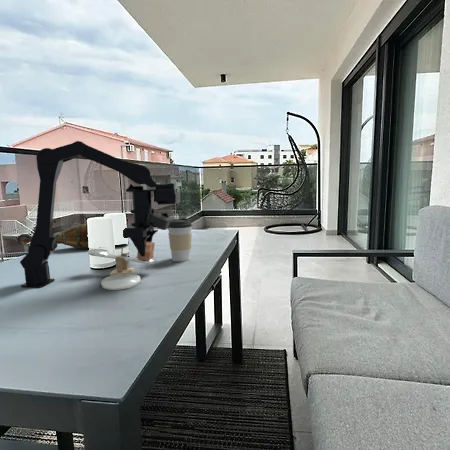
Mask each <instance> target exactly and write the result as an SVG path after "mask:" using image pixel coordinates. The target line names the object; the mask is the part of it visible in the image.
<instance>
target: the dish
mask: <svg viewBox="0 0 450 450" xmlns="http://www.w3.org/2000/svg"><path fill="white" fill-rule="evenodd" d="M141 281H142V280H141V276H140V275H138V274H135V273H131V274H118V275H113V276H110V275H109V276H106V277H105V278H102V280H101V281H100V282H101V288H103V289H104V290H109V291H119V290H126V289H131V288H134V287H136V286H138V285H139V284H141Z"/></svg>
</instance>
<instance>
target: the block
mask: <svg viewBox="0 0 450 450" xmlns="http://www.w3.org/2000/svg"><path fill="white" fill-rule="evenodd" d="M155 244H156V243H155V242H154V241H152V242H149V241H146V247H145V256H141V255H140V254H139V252H138V251H137V253H136V254H137V256H136V257H137V259H143V260H151V259H152V258H153V257H154V255H155V253H154V252H155ZM154 258H155V257H154Z"/></svg>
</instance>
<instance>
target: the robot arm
mask: <svg viewBox="0 0 450 450" xmlns="http://www.w3.org/2000/svg"><path fill="white" fill-rule="evenodd" d="M35 157H36V159H35V160H36V168H37V172H38V176H39V188H38V189H39V190H38V201H37V212H36V223H35V228H34V231H33V234H32V239H31V242H29V245H28V250H27V254H26V255H25V256H24V257H23V258H22V259H21V260H20V261H19V263H20V265H21V267H22V268H23V270H24V278H25V283H23V284H21V285H20V286H21V287H22V288H43V287H45V286H47V285H49V284H51V283H53V282H54V281H55V278H51V274H50V266H49V261H48V260H49V258H50V256H51V255H52V254H53V253H54V251H55V250H56V249H57V248H58V247H59V246H58V243H57V238H58V234H53V233H54V231H53V222H54V211H55V210H54V209H55V199H56V190H57V182H58V180H59V179H58V178H59V176H60V174H61V171H62V168H63V165H64V163H66V162H69V161H71V160H73V159H76V158H78V157H83V158H85V159H88V160H89V161H92V162H95V163H97V164H99V165H102V166H104V167H106V168H110V169H111V170H113V171H116V172H118V173H120V174H121V175H123V177H126V178H127V179H129V180H131V181H133V182H134V183H136V184H138V185H133V184H132V183H129V186H128V187H127V188H126V189H125V192H127V193H131V196H132V199H131V201H132V209H131V210H130V214H132V215H133V222H132V223H131V225H130V226H129V225H128V227H127V228H125V229H124V230H123V237H124V238H128V239H130V240H131V242H132V244H133V245H134V247H135V248H136V250H137V253H138V252H139V254H140V255H141V256H145V247H146V241H149V242H153V238H154V235H155V234H156V233H158V232H159V230H158V229H160V230H162V231H163V230H164V231H166V230H167V229H168V227H169V224H170V222H171V220H172V219H171V216H170V213H168V212H163V213H162V214H160V213H156V210H155V208H154V207H152V205H153V204H152V201H153V203H156V205H157V206H169V205H170V206H171V205H172V206H173V205H176V202H177V201H176V199H177V198H176V191H175V186H174V183H173V182H169V183H156V181H155V180H153V178H152V177H151V171H150V170H149V168H148V167H147V166H145V165H142V164H140V163H134V162H131V161H126V160H122V159H120V158H117V157H115V156H113V155H110V154H109V153H107V152H104V151H101V150H99V149H97V148H95V147H92V146H90V145H87V144H86V143H84V142H83V141H79V140H77V141H76V140H75V141H74V142H71V143H70V144H66V145H61V146H59V147H55V148H50V147H45V148H41V149H40V150H38V152H37V153H36V156H35ZM143 185H145V186H147V187H149V188H145V189H144V186H143ZM155 228H157V229H155Z"/></svg>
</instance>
